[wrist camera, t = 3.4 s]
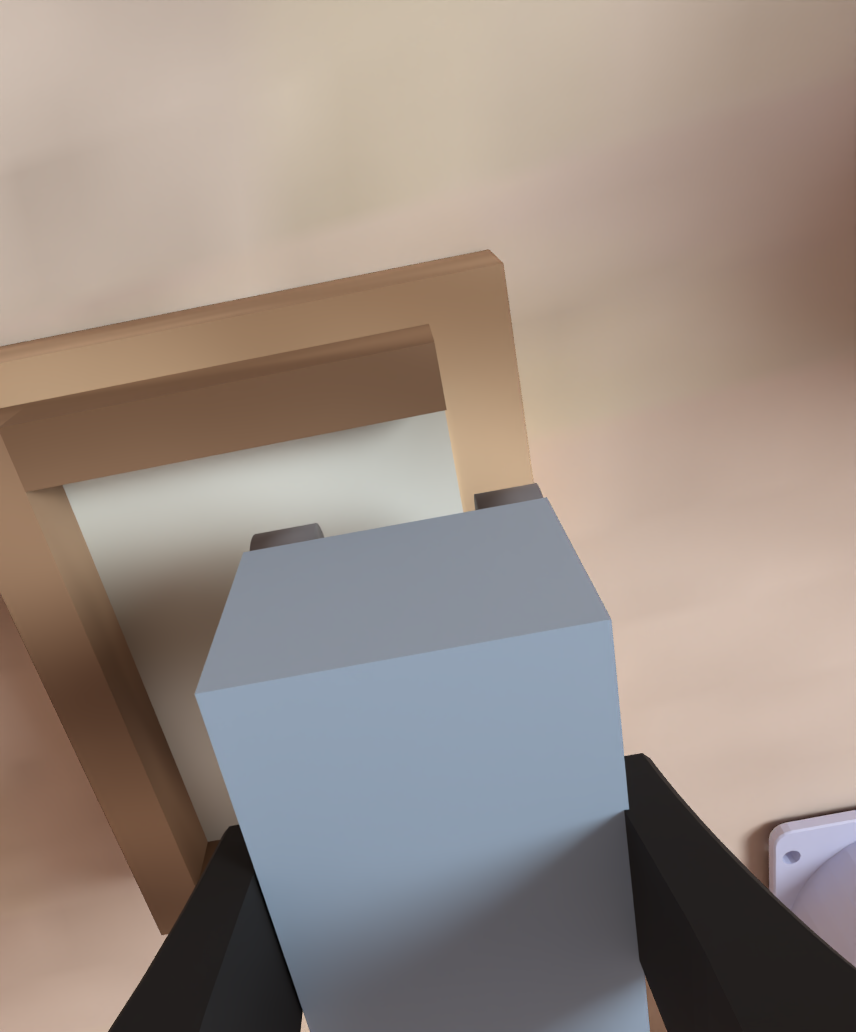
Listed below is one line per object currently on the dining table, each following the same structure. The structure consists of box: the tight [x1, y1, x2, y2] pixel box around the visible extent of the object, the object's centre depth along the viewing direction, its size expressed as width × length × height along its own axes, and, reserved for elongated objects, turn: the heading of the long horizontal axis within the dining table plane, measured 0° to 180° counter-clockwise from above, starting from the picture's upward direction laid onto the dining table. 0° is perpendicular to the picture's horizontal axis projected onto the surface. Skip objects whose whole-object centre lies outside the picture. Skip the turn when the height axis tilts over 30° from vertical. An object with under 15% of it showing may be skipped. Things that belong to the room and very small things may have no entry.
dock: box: [0, 250, 534, 935], centre depth 18 cm, size 14×11×4 cm
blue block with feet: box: [195, 483, 650, 1032], centre depth 13 cm, size 7×5×5 cm, turn 9°
